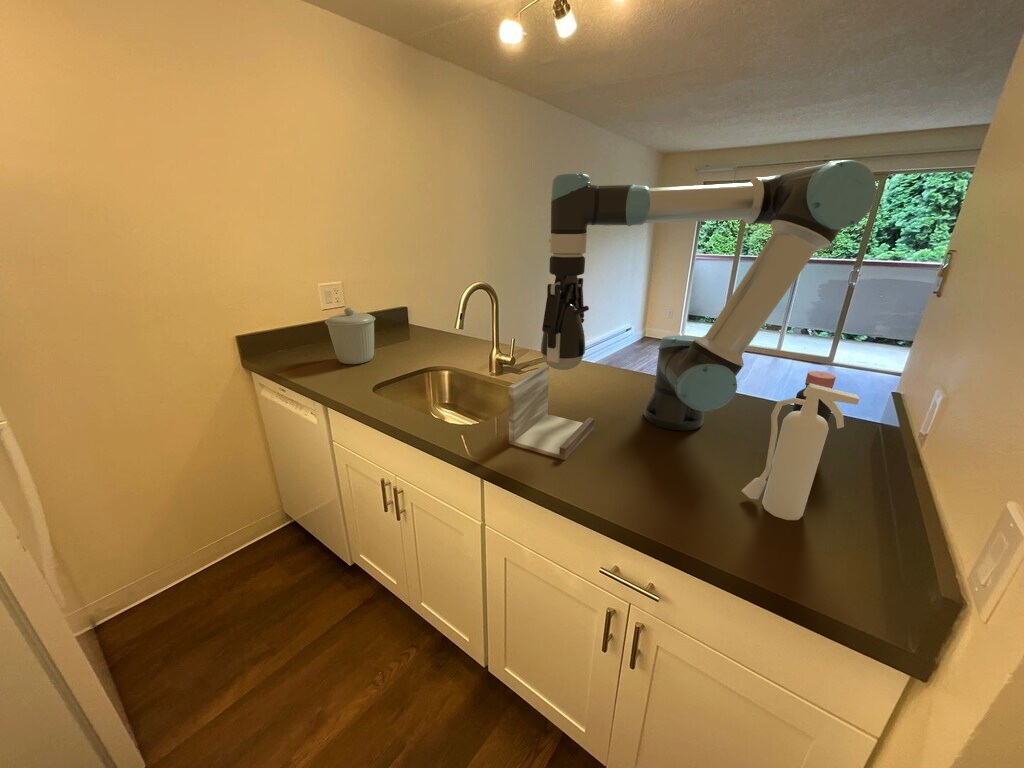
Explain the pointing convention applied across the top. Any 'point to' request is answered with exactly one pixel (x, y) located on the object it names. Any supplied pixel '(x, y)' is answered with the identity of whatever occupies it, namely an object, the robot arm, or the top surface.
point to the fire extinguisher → (796, 452)
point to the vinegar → (821, 380)
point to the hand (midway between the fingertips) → (563, 355)
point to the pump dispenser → (568, 339)
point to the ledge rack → (541, 419)
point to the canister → (352, 336)
